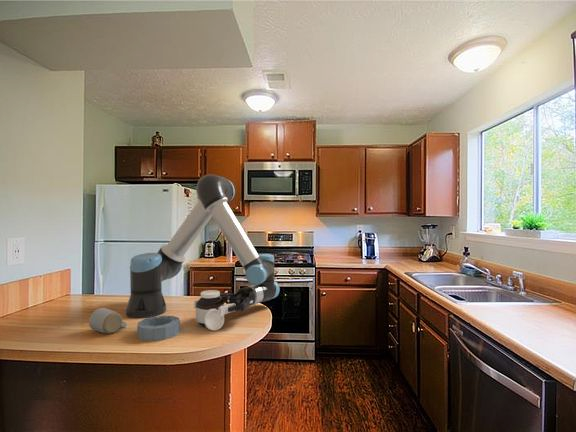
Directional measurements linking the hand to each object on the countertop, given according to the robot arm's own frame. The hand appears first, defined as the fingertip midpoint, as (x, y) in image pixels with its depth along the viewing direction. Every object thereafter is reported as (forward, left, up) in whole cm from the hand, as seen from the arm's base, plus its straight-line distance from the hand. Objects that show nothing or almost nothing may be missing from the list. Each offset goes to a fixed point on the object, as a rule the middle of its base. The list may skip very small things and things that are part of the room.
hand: (206, 308), depth 117 cm
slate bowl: (-8, -13, -7) cm, 17 cm away
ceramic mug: (-24, -22, -7) cm, 34 cm away
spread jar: (0, +2, -7) cm, 8 cm away
